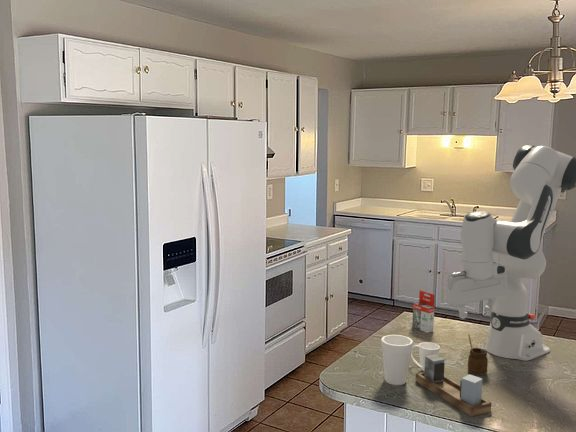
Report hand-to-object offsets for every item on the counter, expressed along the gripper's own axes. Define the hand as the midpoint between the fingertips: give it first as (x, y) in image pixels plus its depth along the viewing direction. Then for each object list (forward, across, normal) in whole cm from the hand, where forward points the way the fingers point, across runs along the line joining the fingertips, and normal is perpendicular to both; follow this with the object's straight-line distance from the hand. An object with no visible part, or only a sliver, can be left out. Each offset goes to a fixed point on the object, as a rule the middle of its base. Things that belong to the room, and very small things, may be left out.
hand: (476, 315), depth 165 cm
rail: (+23, -8, +1) cm, 25 cm away
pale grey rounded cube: (+22, -8, -7) cm, 24 cm away
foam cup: (+23, -17, +16) cm, 33 cm away
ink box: (+25, +19, +50) cm, 59 cm away
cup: (+24, -4, +20) cm, 31 cm away
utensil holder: (+24, +11, +11) cm, 29 cm away
